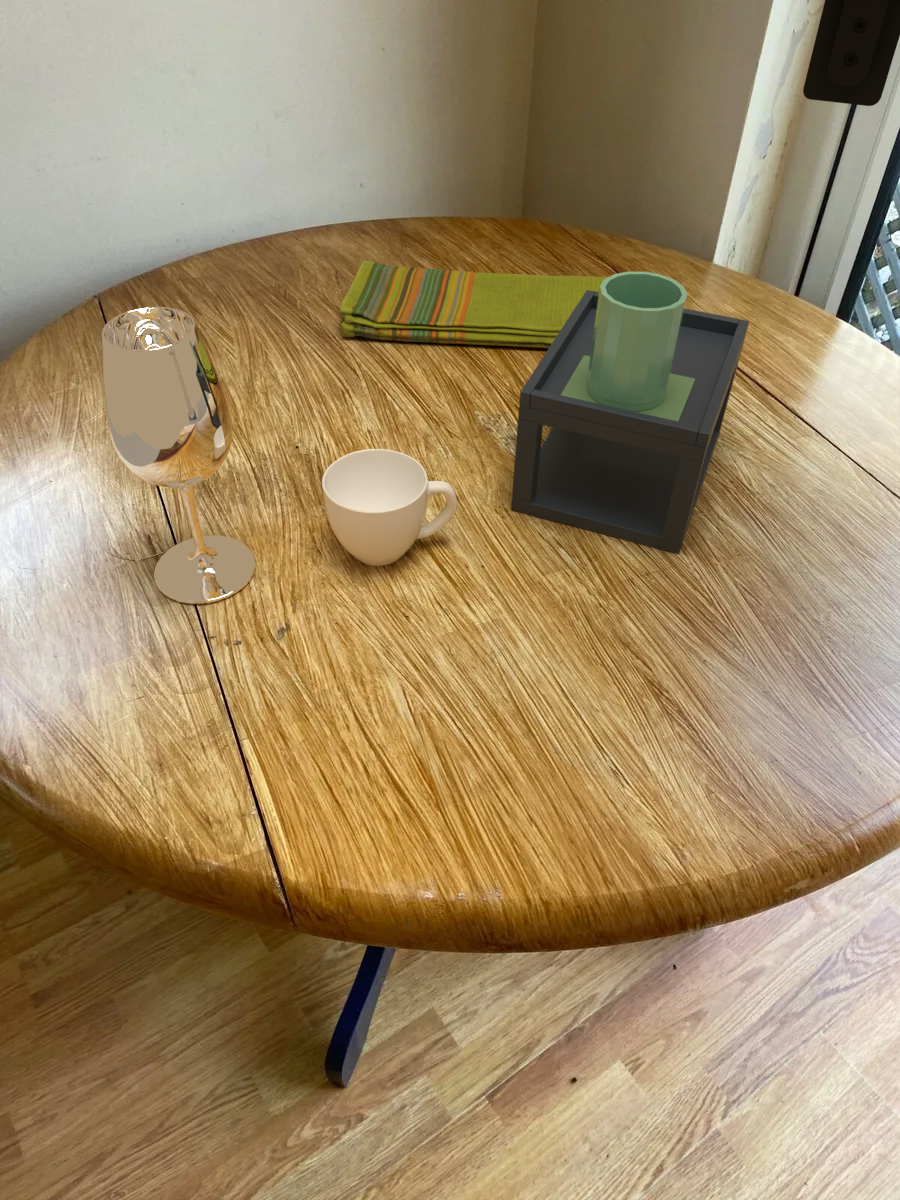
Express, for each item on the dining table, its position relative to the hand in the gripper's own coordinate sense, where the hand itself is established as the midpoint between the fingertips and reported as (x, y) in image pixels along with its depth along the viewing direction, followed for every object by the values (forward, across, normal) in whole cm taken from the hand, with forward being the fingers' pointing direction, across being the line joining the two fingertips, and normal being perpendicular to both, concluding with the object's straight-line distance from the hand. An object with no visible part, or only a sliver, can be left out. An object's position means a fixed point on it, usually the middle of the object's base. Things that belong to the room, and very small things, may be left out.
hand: (849, 72), depth 42 cm
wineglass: (+35, -11, +36) cm, 51 cm away
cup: (+35, -3, +24) cm, 42 cm away
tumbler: (+25, +10, +10) cm, 28 cm away
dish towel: (+35, +37, +28) cm, 58 cm away
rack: (+35, +14, +10) cm, 39 cm away
